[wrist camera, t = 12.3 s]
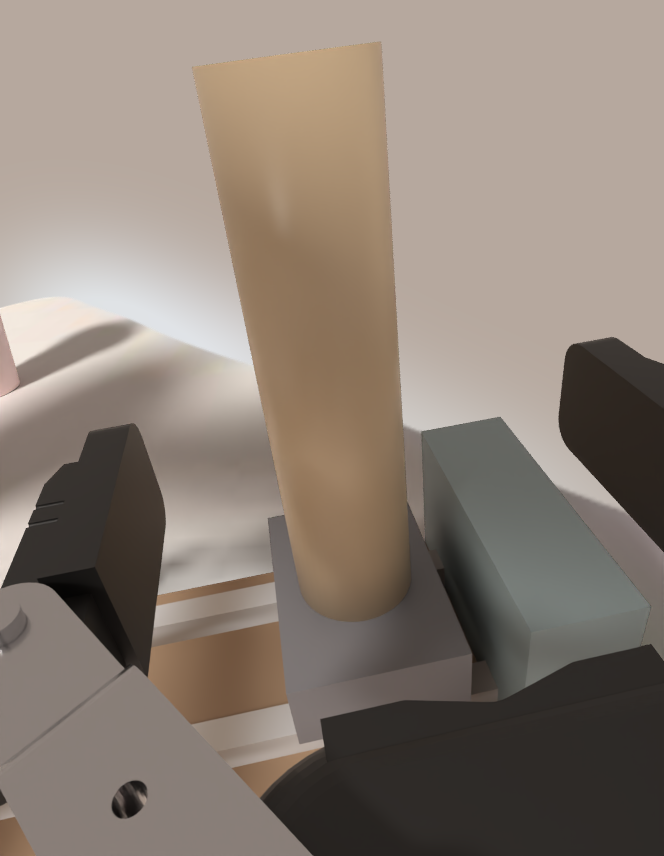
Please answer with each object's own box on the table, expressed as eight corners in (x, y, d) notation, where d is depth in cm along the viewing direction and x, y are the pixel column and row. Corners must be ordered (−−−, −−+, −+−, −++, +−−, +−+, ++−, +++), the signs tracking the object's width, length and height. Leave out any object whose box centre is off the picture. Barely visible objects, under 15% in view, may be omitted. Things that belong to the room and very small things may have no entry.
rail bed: (-222, 956, 16) (-284, 921, 15) (-80, 670, 24) (-112, 630, 22) (609, 761, 18) (621, 713, 16) (493, 553, 25) (495, 509, 24)
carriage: (299, 744, 16) (124, 75, 8) (278, 565, 22) (165, 70, 14) (470, 706, 17) (489, 26, 8) (406, 540, 23) (376, 42, 14)
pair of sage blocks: (-222, 956, 16) (-431, 840, 12) (-75, 661, 24) (-175, 536, 20) (609, 761, 18) (651, 606, 14) (489, 546, 26) (495, 411, 22)
